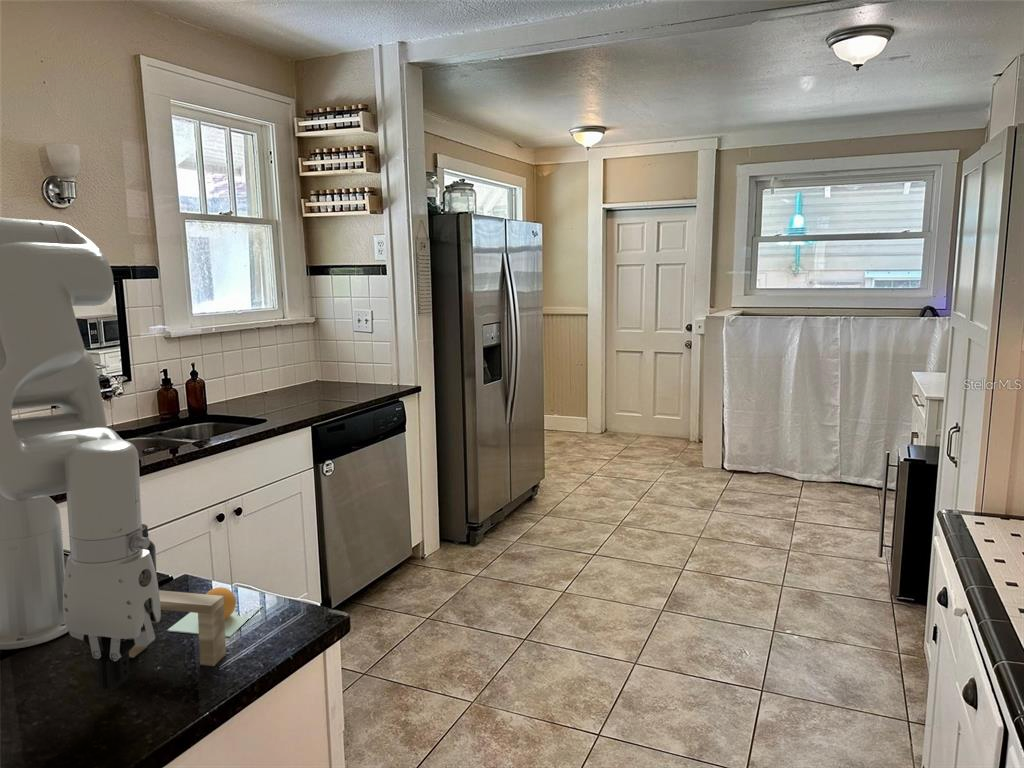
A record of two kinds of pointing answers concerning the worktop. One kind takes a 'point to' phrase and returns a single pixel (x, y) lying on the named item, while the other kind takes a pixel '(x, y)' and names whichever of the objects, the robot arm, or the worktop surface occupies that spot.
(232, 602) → the ball
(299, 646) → the worktop surface
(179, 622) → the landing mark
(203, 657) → the bridge
